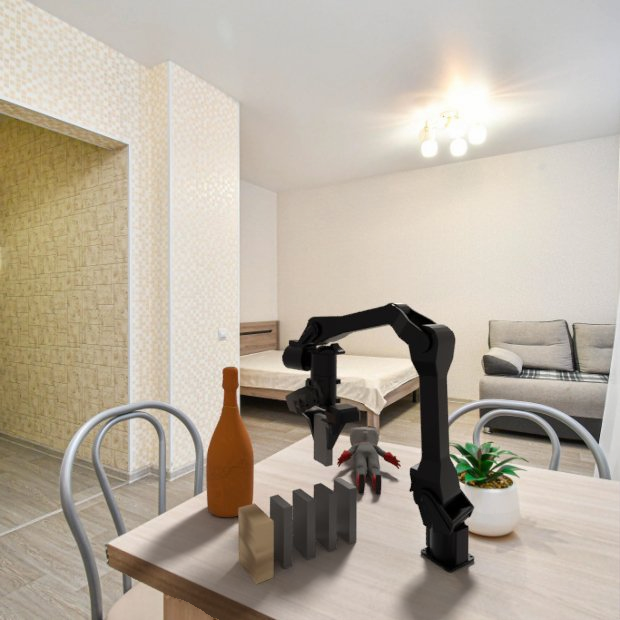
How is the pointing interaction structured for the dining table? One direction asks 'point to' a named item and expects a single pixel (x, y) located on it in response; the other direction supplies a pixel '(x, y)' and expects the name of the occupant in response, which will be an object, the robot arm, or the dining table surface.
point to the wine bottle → (229, 456)
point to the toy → (366, 456)
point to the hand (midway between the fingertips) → (323, 445)
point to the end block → (256, 542)
